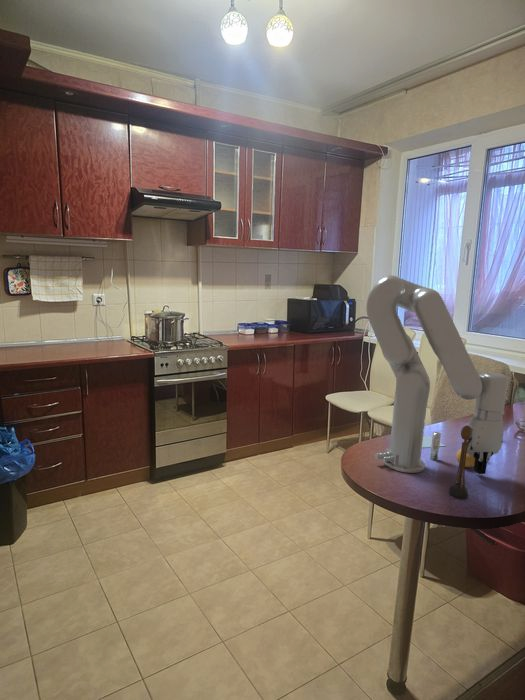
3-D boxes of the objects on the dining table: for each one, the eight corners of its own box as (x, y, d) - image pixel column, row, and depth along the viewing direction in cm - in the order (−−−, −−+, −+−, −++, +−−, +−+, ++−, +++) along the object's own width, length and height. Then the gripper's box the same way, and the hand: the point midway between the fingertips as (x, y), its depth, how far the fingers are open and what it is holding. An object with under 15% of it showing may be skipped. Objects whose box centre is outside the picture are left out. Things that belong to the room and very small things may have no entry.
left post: (432, 460, 143) (436, 434, 142) (428, 457, 146) (431, 432, 144) (439, 460, 144) (442, 434, 142) (434, 457, 146) (437, 431, 145)
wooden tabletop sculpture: (454, 487, 126) (463, 420, 122) (471, 494, 123) (481, 425, 119) (446, 494, 121) (455, 425, 118) (463, 501, 118) (473, 430, 115)
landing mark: (421, 448, 154) (421, 447, 154) (404, 437, 163) (404, 436, 163) (445, 446, 156) (445, 445, 156) (428, 435, 166) (428, 435, 166)
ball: (455, 444, 141) (450, 459, 143) (465, 455, 136) (460, 471, 138) (472, 443, 142) (467, 459, 144) (483, 454, 137) (478, 470, 139)
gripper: (499, 409, 136) (490, 465, 139) (458, 410, 132) (449, 468, 135) (519, 417, 129) (509, 476, 132) (475, 419, 125) (466, 479, 128)
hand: (479, 471), depth 134 cm, fingers closed
